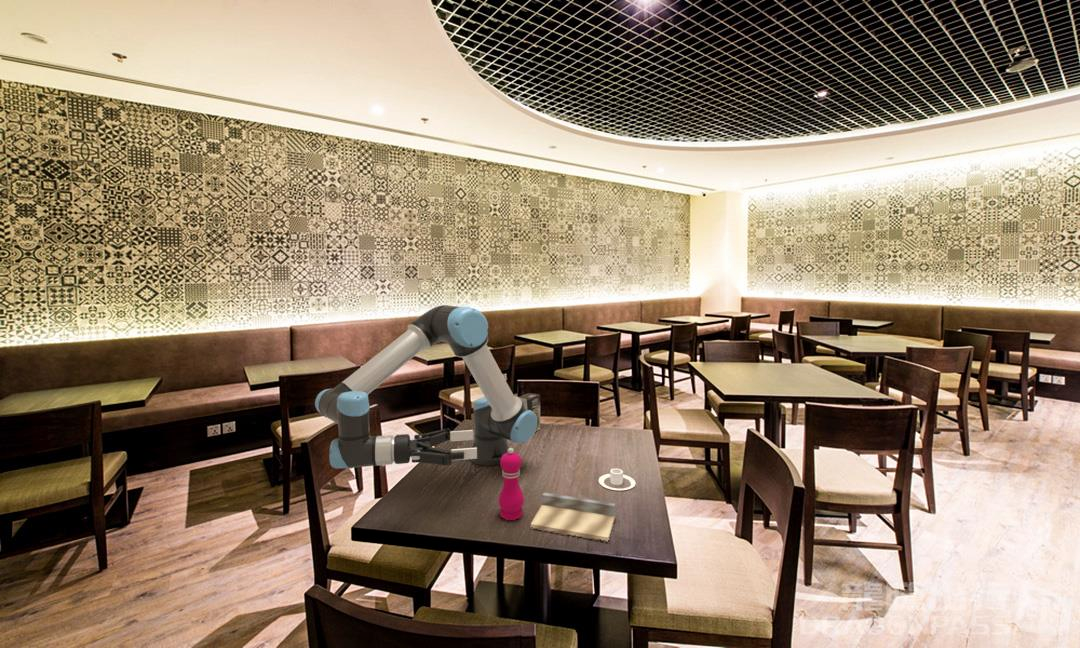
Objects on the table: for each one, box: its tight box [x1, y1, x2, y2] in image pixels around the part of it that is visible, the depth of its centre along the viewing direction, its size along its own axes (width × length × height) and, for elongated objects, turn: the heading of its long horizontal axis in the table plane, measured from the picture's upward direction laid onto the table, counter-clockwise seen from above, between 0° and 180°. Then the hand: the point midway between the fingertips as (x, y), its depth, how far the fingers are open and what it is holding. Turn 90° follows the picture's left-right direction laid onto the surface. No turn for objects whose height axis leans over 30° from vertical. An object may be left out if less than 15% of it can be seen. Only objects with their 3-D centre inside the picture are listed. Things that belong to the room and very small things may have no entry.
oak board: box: [530, 492, 616, 541], centre depth 123 cm, size 21×12×4 cm, turn 72°
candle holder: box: [598, 468, 637, 492], centre depth 147 cm, size 12×12×4 cm
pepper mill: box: [498, 447, 525, 521], centre depth 127 cm, size 7×7×20 cm
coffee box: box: [518, 392, 541, 433], centre depth 194 cm, size 9×6×16 cm
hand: (475, 443), depth 123 cm, fingers open, 13 cm apart
